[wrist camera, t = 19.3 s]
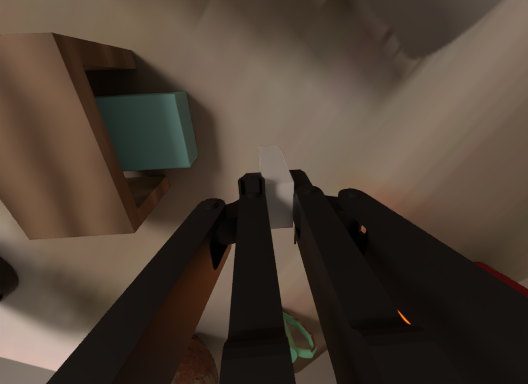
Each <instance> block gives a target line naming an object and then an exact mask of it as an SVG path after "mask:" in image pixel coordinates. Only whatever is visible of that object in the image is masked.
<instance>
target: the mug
mask: <svg viewBox="0 0 528 384" xmlns="http://www.w3.org/2000/svg"><path fill="white" fill-rule="evenodd" d="M283 318H284V325H285V331H286V335H287V337H288V340H289V344H290V350H291V356H292V363H293V362H294V361H295V360H296V359H297V356H299V357H303V358H312V357H313V355H314V353H315V352H316V350H317V347H316V345H315V342H314V339H313V336H312V333H311V332H310V331H309V330H308V329H307V328H306V327H305V326H304V325H303V324H302V323H301V322H300V321H299V320H298V319H296V318H294V317H292V316H289V315H287V314H285V313H283ZM287 323H289V324H291V325H293V326H295V327H296V328H297V329H298V330H299V331H300V332H301V333H302V334H303V335H304V337H305V338H306V339H307V340H308V342H309V346H310V349H304V348H301V347H298V346H295V343H294V341H293V338H292V335H291V332H290V329H289V326H288V324H287Z"/></svg>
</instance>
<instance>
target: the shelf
mask: <svg viewBox="0 0 528 384" xmlns="http://www.w3.org/2000/svg"><path fill="white" fill-rule="evenodd" d="M123 69H136V65H135V62H134V58H133V54H132V51H131V50H128V49H123V48H119V47H114V46H110V45H105V44H101V43H96V42H92V41H87V40H83V39H78V38H74V37H69V36H64V35H60V34H55V33H32V34H9V35H0V199H1V201H2V202H3V203H4V205H5V206H6V207H7V209H8V210H9V212H10V213H11V214H12V216H13V217H14V219H15V220H16V221H17V223H18V224H19V226H20V227H21V228H22V230H23V231H24V232H25V234H26V235H27V237H28V238H29V239H30V240H34V239H49V238H65V237H81V236H97V235H113V234H128V233H135V232H136V231H137V229H138V228H139V227H140V225H141V224H142V223H143V221H144V220H145V219H146V218H147V216H148V215H149V214H150V212H151V211H152V210H153V208H154V207H155V206H156V204H157V203H158V202H159V200H160V199H161V198H162V196H163V195H164V194H165V192H166V191H167V190H168V188H169V187H170V186H169V183H168V179H167V176H155V177H137V178H125V176H124V173H123V171H122V168H121V165H120V163H119V160H118V158H117V155H116V152H115V150H114V147H113V144H112V142H111V139H110V137H109V134H108V131H107V129H106V126H105V124H104V121H103V118H102V116H101V113H100V110H99V108H98V105H97V103H96V100H95V97H94V95H93V92H92V90H91V87H90V84H89V82H88V79H87V76H86V74H85V71H102V70H123Z"/></svg>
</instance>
